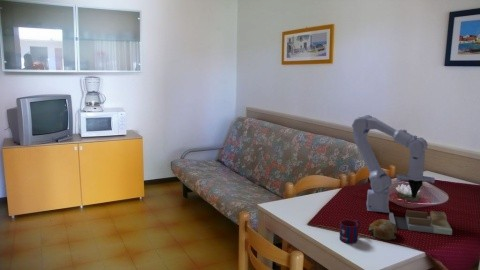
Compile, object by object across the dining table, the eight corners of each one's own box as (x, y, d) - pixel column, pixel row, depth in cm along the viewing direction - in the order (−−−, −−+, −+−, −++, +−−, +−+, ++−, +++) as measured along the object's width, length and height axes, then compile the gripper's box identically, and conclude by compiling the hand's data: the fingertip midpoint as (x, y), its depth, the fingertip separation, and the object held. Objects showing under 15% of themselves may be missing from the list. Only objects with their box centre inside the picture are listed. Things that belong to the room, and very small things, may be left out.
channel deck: (391, 228, 152) (392, 217, 151) (389, 216, 163) (389, 207, 162) (451, 235, 145) (452, 224, 144) (445, 222, 156) (446, 212, 156)
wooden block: (432, 224, 150) (432, 215, 149) (429, 219, 155) (430, 210, 154) (445, 226, 148) (446, 216, 148) (443, 221, 153) (444, 212, 152)
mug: (335, 238, 143) (336, 222, 142) (352, 232, 148) (353, 216, 147) (349, 245, 138) (350, 228, 136) (366, 238, 143) (367, 221, 142)
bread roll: (387, 250, 141) (398, 235, 138) (363, 234, 145) (373, 218, 142) (392, 240, 149) (403, 225, 146) (369, 224, 153) (379, 210, 150)
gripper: (398, 167, 156) (396, 198, 158) (437, 170, 152) (434, 202, 154) (397, 163, 162) (394, 193, 165) (433, 166, 158) (431, 196, 161)
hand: (413, 197), depth 160 cm, fingers closed
